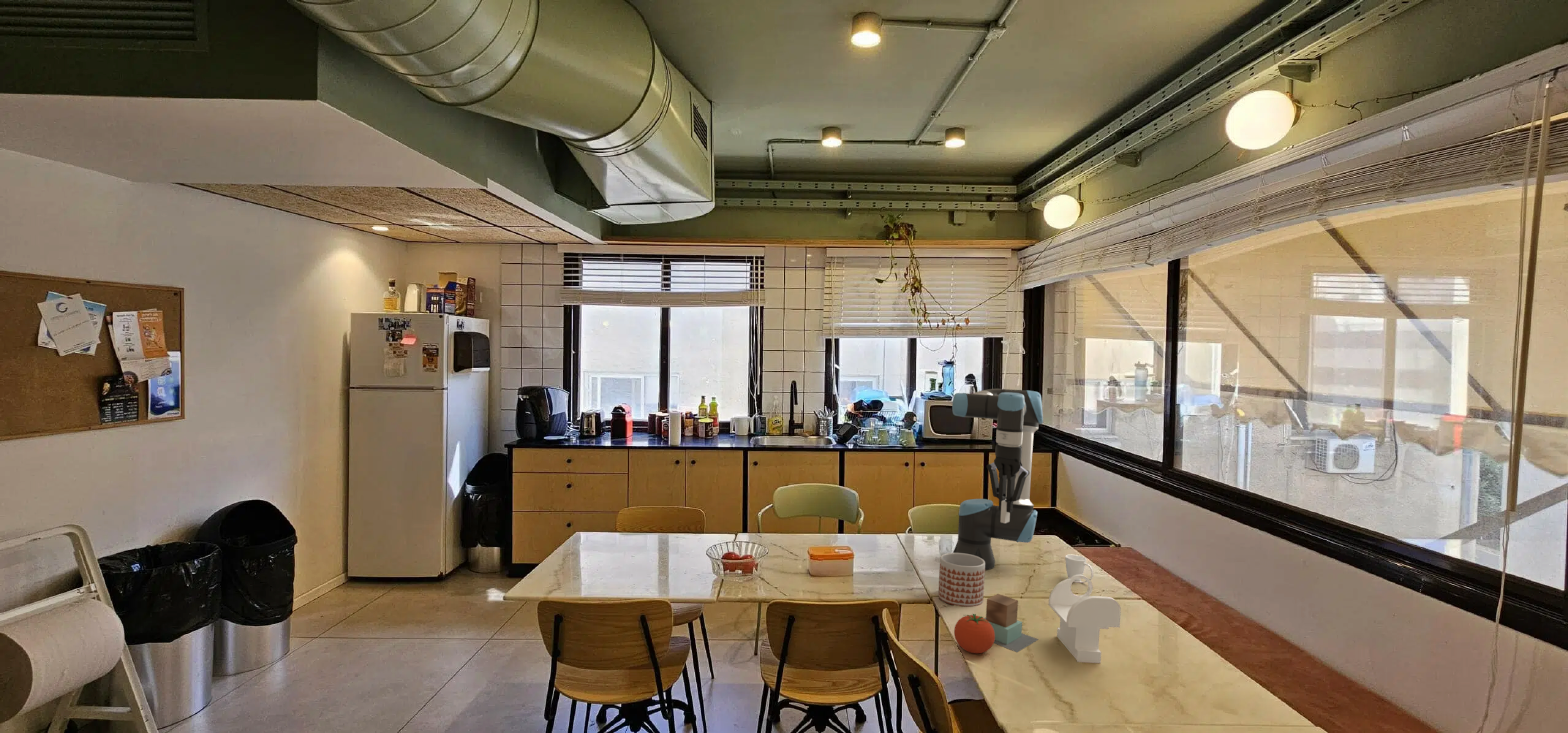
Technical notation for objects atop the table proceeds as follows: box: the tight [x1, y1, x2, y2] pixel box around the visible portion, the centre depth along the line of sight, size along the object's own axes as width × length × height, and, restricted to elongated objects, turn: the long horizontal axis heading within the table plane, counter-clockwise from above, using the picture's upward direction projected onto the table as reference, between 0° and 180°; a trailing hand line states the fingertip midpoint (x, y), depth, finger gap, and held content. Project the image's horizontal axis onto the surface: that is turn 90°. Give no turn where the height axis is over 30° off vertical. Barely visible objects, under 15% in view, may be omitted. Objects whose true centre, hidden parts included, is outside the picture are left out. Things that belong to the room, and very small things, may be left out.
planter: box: [937, 552, 986, 608], centre depth 211 cm, size 14×14×13 cm
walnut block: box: [985, 593, 1019, 628], centre depth 185 cm, size 6×6×6 cm
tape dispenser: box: [1047, 574, 1122, 664], centre depth 179 cm, size 14×13×18 cm
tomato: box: [953, 613, 995, 654], centre depth 175 cm, size 10×10×10 cm
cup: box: [1064, 554, 1094, 584], centre depth 231 cm, size 7×10×8 cm
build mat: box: [993, 633, 1039, 653], centre depth 185 cm, size 16×12×1 cm
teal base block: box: [983, 617, 1023, 644], centre depth 185 cm, size 8×8×4 cm
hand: (1004, 521), depth 203 cm, fingers closed
